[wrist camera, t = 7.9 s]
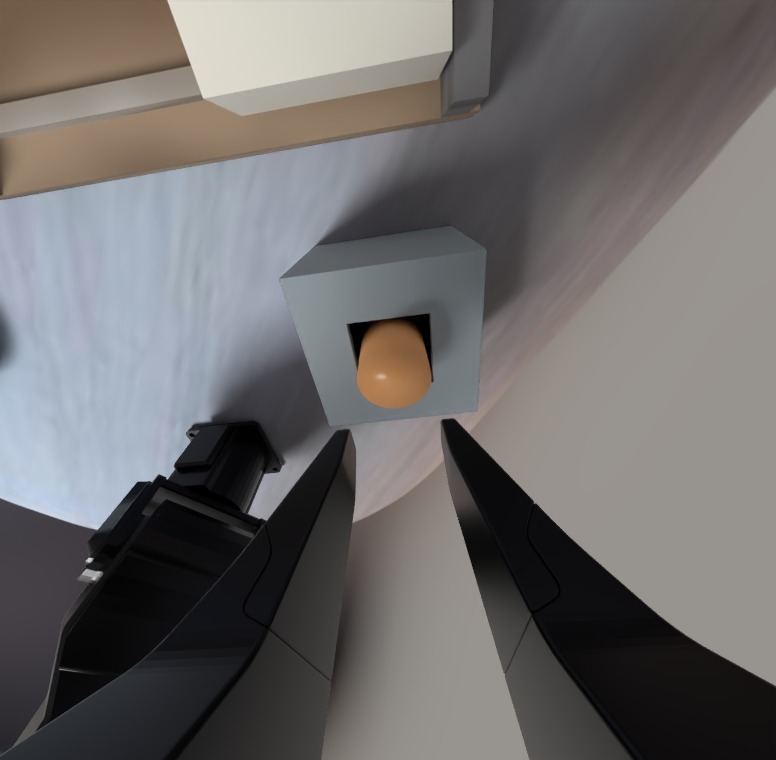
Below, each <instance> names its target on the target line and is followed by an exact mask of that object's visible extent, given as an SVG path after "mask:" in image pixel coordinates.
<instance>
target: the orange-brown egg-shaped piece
mask: <svg viewBox="0 0 776 760" xmlns="http://www.w3.org/2000/svg"><path fill="white" fill-rule="evenodd" d="M357 384H358V387H359V390H360V392H361V393H362V395H363V396H364V397H365V398H366V399H367V400H369V401H370V402H372V403H373V404H375V405H378V406H380V407H384V408H403V407H407V406H410V405H412V404H414V403H416V402H417V401H419V400H420V399H421V398H422V397H423V396H424V395H425V394H426V393H427V391H428V389H429V387H430V384H431V370H430V366H429V362H428V357H427V353H426V349H425V345H424V341H423V336H422V332H421V329H420V327H419V325H418V323H417V322H416V321H415V320H414V319H413V318H412V317H411V316H404V317H396V318H389V319H381V320H373V321H369V322H368V324H367V325H366V327H365V329H364V332H363V338H362V345H361V352H360V358H359V365H358V372H357Z"/></svg>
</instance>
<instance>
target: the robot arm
mask: <svg viewBox="0 0 776 760" xmlns="http://www.w3.org/2000/svg"><path fill="white" fill-rule="evenodd" d="M253 427H254V428H253ZM186 435H187V437H188V438H189V439H190V441H191V442H190V444H189V445H188V446H187V448H186V449H185V450H184V452H183V453H182V454H181V456H180V457H179V458H178V460H177V461H176V462H175V464H174V468H175V470H174V472H173V473H172V474H171V476H170V477H169V478H168V480H167V479H166V477H164V476H162V475H158V476H157V477H156V478H155V479H154V480H153V481H152V482H150V481H148V482H137V483H136V484H135V486H134V487H133V488H132V489H131V490H130V492H129V493H128V494H127V495H126V496H125V498H124V499H123V500H122V501H121V503H120V504H119V505H118V506H117V507H116V509H115V510H114V511H113V512H112V513H111V515H110V516H109V517H108V518H107V519H106V521H105V522H104V523H103V524H102V526H101V527H100V528H99V529H98V530H97V532H96V533H95V534H94V535H93V537H92V538H91V539H90V540H89V541H88V543H87V548H88V554H89V557H88V558H87V560H86V561H85V564H87V565H86V567H85V568H84V569H83V571H82V572H81V574H80V575H79V576H78V578H77V580H80V581H84V582H88V583H89V584H88V585H87V586H86V588H85V589H84V591H83V592H82V593H81V594H80V596H79V597H78V599H77V600H76V601H75V603H74V604H73V605H72V607H71V608H70V609H69V611H68V612H67V613H66V615H65V617H64V619H63V622H62V626H61V631H60V636H59V641H58V646H57V651H56V656H55V661H54V666H53V671H52V676H51V680H50V685H49V690H48V695H47V697H46V699H45V700H44V702H43V703H42V705H41V706H40V708H39V710H38V711H37V712H36V714H35V715H34V717H33V718H32V720H31V721H30V723H29V724H28V725H27V727H26V728H25V730H24V731H23V733H22V734H21V736H20V737H19V739H18V740H17V742H16V743H15V745H14V746H13V747H12V748H11V749H9V750H8V751H6V752H5V753H3V754H2V755H0V760H321V756H322V748H323V740H324V733H325V724H326V718H327V710H328V702H329V694H330V688H331V682H330V681H331V679H332V672H333V664H334V657H335V649H336V641H337V634H338V627H339V619H340V612H341V603H342V596H343V589H344V581H345V574H346V566H347V559H348V551H349V543H350V536H351V528H352V521H353V513H354V506H355V491H356V448H355V444H354V440H353V437H352V434H351V431H350V430H349V429H344V430H337V431H336V432H335V433H334V435H333V436H332V437H331V438H330V440H329V441H328V442H327V444H326V445H325V446H324V447H323V449H322V450H321V451H320V453H319V454H318V455H317V457H316V458H315V459H314V460H313V462H312V463H311V464H310V466H309V467H308V468H307V470H306V471H305V472H304V473H303V475H302V476H301V477H300V479H299V480H298V481H297V482H296V484H295V485H294V486H293V488H292V489H291V490H290V492H289V493H288V494H287V495H286V497H285V498H284V499H283V501H282V502H281V503H280V504H279V506H278V507H277V508H276V510H275V511H274V512H273V514H272V515H271V516H270V517H269V519H268V520H267V521H266V520H264V519H258V518H256V517H254V516H251V515H249V514H248V512H249V510H250V507H251V505H252V502H253V500H254V497H255V495H256V493H257V490H258V488H259V485H260V483H261V481H262V478H263V476H264V474H267V473H277V472H280V470H281V467H282V466H281V464H280V462H279V460H278V458H277V457H276V455H275V453H274V451H273V449H272V447H271V445H270V444H269V442H268V440H267V438H266V436H265V434H264V432H263V431H262V429H261V427H260V425H259V424H258V423H257V422H253V421H251V422H242V423H232V424H223V425H214V426H204V427H195V428H190V429H189V430H188V431H187V432H186ZM441 442H442V449H443V454H444V460H445V466H446V472H447V478H448V484H449V488H450V493H451V496H452V500H453V504H454V507H455V510H456V514H457V517H458V520H459V524H460V527H461V530H462V534H463V537H464V540H465V544H466V547H467V551H468V554H469V557H470V560H471V564H472V567H473V571H474V574H475V578H476V580H477V584H478V587H479V590H480V594H481V598H482V601H483V604H484V608H485V611H486V615H487V618H488V621H489V625H490V628H491V631H492V635H493V638H494V641H495V645H496V648H497V652H498V655H499V658H500V661H501V665H502V668H503V671H504V673H505V679H506V682H507V685H508V689H509V692H510V695H511V699H512V702H513V705H514V709H515V712H516V716H517V719H518V722H519V726H520V729H521V732H522V736H523V739H524V742H525V746H526V749H527V753H528V756H529V759H530V760H776V686H775V685H773V684H771V683H769V682H767V681H765V680H764V679H762V678H760V677H758V676H756V675H754V674H753V673H751V672H749V671H747V670H745V669H744V668H742V667H740V666H738V665H736V664H735V663H733V662H731V661H729V660H727V659H725V658H724V657H722V656H720V655H718V654H716V653H715V652H713V651H711V650H709V649H707V648H706V647H704V646H702V645H701V644H699V643H697V642H696V641H694V640H692V639H691V638H689V637H688V636H686V635H685V634H684V633H682V632H680V631H679V630H678V629H676V628H675V627H674V626H672V625H671V624H670V623H668V622H667V621H666V620H664V619H663V618H662V617H660V616H659V615H658V614H657V613H656V612H655V611H653V610H652V609H651V608H650V607H649V606H647V605H646V604H645V603H644V602H643V601H642V600H641V599H639V598H638V597H637V596H636V595H635V594H634V593H633V592H631V591H630V590H629V589H628V588H627V587H626V586H625V585H623V584H622V583H621V582H620V581H619V580H618V579H616V578H615V577H614V576H613V575H612V574H611V573H609V572H608V571H607V570H606V569H605V568H604V567H603V566H602V565H600V564H599V563H598V562H597V561H596V560H595V559H594V558H592V557H591V556H590V555H589V554H588V553H587V552H586V551H584V550H583V549H582V548H581V547H580V546H579V545H578V544H577V543H576V542H575V541H573V540H572V539H571V538H570V537H569V536H568V535H567V534H566V533H565V532H564V531H563V530H562V529H561V528H560V527H559V526H558V525H557V524H556V523H555V522H554V521H553V520H552V519H551V518H550V517H549V516H547V514H546V513H545V512H544V511H543V510H542V509H541V508H540V507H539V506H538V505H537V504H534V501H533V500H532V499H531V498H530V497H529V496H528V495H527V494H526V493H525V492H524V491H523V490H522V488H521V487H520V486H519V485H518V484H517V483H516V482H515V481H514V480H513V479H512V478H511V477H510V476H509V475H508V474H507V473H506V472H505V471H504V470H503V469H502V468H501V467H500V466H499V465H498V464H497V463H496V461H495V460H494V459H493V458H492V457H491V456H490V455H489V454H488V453H487V452H486V451H485V450H484V449H483V448H482V447H481V446H480V445H479V444H478V443H477V442H476V441H475V440H474V438H473V437H471V435H470V434H469V433H468V432H467V431H466V430H465V429H464V428H463V427H462V426H461V425H460V424H459V423H458V422H457V421H456V420H455V419H453V418H451V419H442V420H441Z"/></svg>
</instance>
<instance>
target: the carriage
mask: <svg viewBox="0 0 776 760" xmlns="http://www.w3.org/2000/svg"><path fill="white" fill-rule="evenodd" d="M167 1H168V4H169V6H170V9H171V12H172V15H173V17H174V20H175V23H176V25H177V28H178V31H179V34H180V36H181V39H182V42H183V45H184V47H185V50H186V53H187V56H188V58H189V61H190V64H191V67H192V69H193V72H194V75H195V77H196V80H197V83H198V86H199V88H200V91H201V94H202V97H203V99H205V100H207V101H210V102H212V103H214V104H216V105H218V106H221V107H223V108H225V109H227V110H229V111H232V112H234V113H236V114H238V115H240V116H245V115H250V114H256V113H261V112H266V111H272V110H277V109H283V108H288V107H293V106H299V105H304V104H309V103H315V102H320V101H325V100H331V99H336V98H341V97H347V96H352V95H357V94H363V93H368V92H373V91H379V90H384V89H389V88H395V87H400V86H405V85H411V84H416V83H421V82H427V81H432V80H437V79H438V78H439V76H440V74H441V72H442V70H443V68H444V66H445V64H446V62H447V60H448V58H449V56H450V54H451V52H452V0H167Z"/></svg>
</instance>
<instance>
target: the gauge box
mask: <svg viewBox="0 0 776 760" xmlns="http://www.w3.org/2000/svg"><path fill="white" fill-rule="evenodd" d="M486 257H487V249H486V248H484V247H483V246H481V245H480V244H478V243H477V242H475V241H474V240H472V239H471V238H469V237H468V236H466V235H465V234H463V233H462V232H460V231H459V230H457V229H456V228H454V227H453V226H444V227H437V228H431V229H424V230H417V231H411V232H404V233H397V234H391V235H384V236H378V237H371V238H364V239H358V240H351V241H344V242H338V243H331V244H324V245H318V246H315V247H313V248H312V249H311V250H310V251H309V252H308V253H307V254H306V255H305V256H304V257H302V258H301V259H300V260H299V261H298V262H297V263H296V264H295V265H294V266H293V267H291V268H290V269H289V270H288V271H287V272H286V273H285V274H284V275H283V276H282V277H280V278H279V281H280V284H281V287H282V290H283V293H284V296H285V299H286V301H287V304H288V307H289V310H290V313H291V316H292V319H293V322H294V325H295V327H296V330H297V333H298V336H299V339H300V342H301V345H302V348H303V351H304V353H305V356H306V359H307V362H308V365H309V368H310V371H311V374H312V377H313V379H314V382H315V385H316V388H317V391H318V394H319V397H320V400H321V403H322V405H323V408H324V411H325V414H326V417H327V420H328V423H329V426H330V427H331V426H340V425H350V424H359V423H369V422H379V421H388V420H398V419H408V418H417V417H427V416H437V415H446V414H456V413H465V412H475V411H477V408H478V391H479V374H480V357H481V341H482V324H483V307H484V290H485V274H486ZM427 313H429V325H430V343H429V344H424V345H425V349H426V353H427V357H428V362H429V366H430V370H431V384H430V387H429V389H428V391H427V393H426V394H425V395H424V396H423V397H422V398H421V399H420V400H419V401H417V402H416V403H414V404H412V405H410V406H407V407H403V408H384V407H380V406H378V405H375V404H373V403H372V402H370V401H369V400H367V399H366V398H365V397H364V396H363V395H362V393H361V392H360V390H359V387H358V384H357V372H358V365H359V358H360V352H355V348H354V344H353V339H352V335H351V330H350V326H349V324H350V323H358V322H365V321H373V320H381V319H389V318H396V317H404V316H412V315H420V314H427Z"/></svg>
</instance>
